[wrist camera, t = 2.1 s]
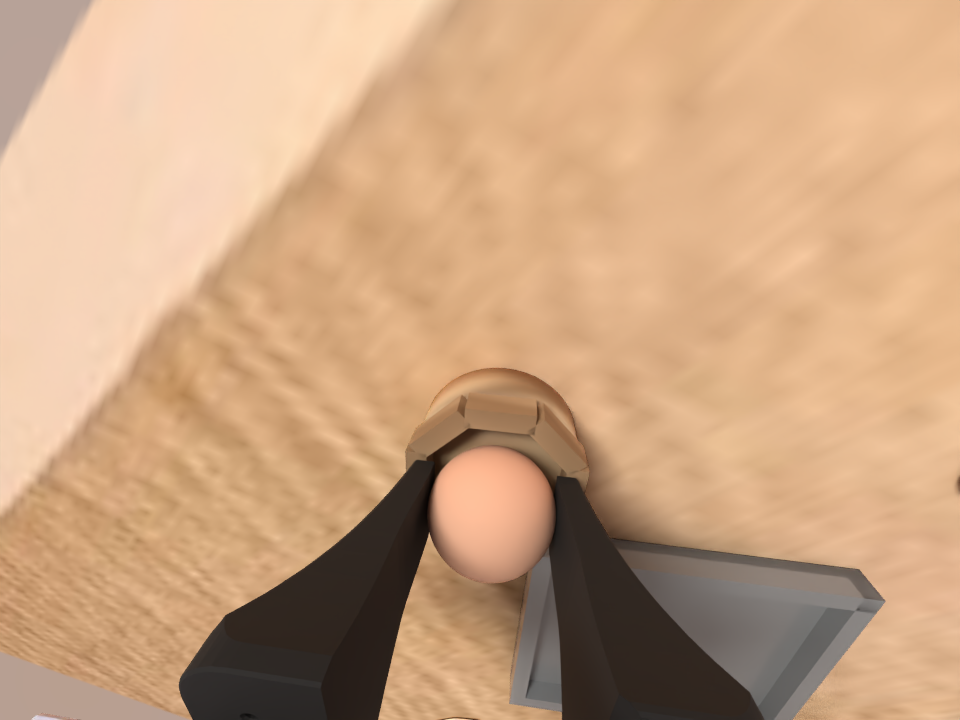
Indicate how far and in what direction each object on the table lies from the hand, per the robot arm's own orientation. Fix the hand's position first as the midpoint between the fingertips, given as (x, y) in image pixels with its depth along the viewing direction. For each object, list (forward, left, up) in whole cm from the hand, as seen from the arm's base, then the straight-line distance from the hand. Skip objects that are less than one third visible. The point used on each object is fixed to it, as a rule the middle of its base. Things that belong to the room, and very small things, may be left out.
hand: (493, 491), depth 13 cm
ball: (0, 0, -1) cm, 1 cm away
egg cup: (0, 0, -3) cm, 3 cm away
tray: (-9, +11, -3) cm, 15 cm away
